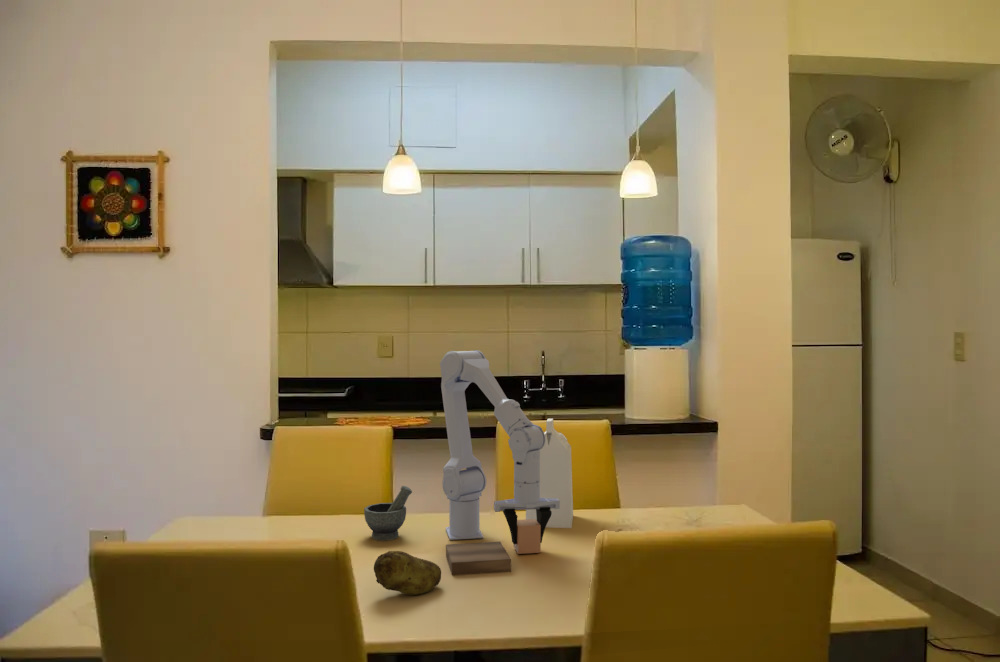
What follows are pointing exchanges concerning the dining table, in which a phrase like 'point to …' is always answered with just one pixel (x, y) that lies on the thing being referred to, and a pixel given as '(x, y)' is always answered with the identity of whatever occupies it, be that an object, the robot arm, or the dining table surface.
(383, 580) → the potato
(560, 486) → the milk
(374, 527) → the mortar and pestle
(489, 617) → the dining table surface
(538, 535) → the terracotta block
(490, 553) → the walnut base slab
